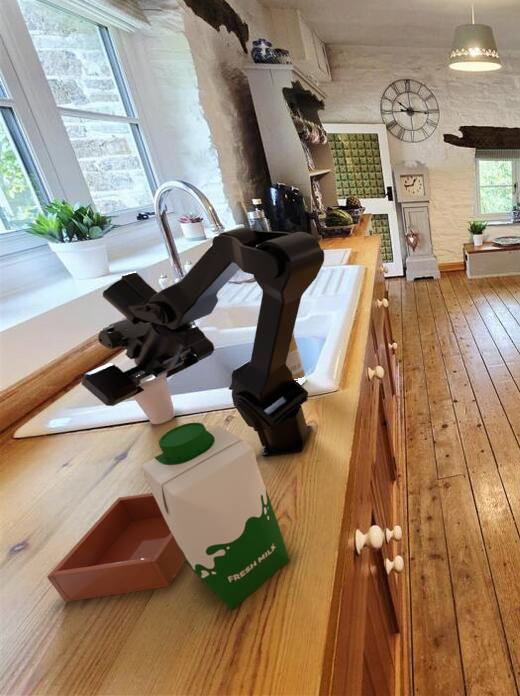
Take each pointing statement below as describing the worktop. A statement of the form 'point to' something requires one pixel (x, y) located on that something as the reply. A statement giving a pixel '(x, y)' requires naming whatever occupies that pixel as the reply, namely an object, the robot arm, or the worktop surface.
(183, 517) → the milk carton
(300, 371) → the sprinkles bottle
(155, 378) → the smoothie
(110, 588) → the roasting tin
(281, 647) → the worktop surface
